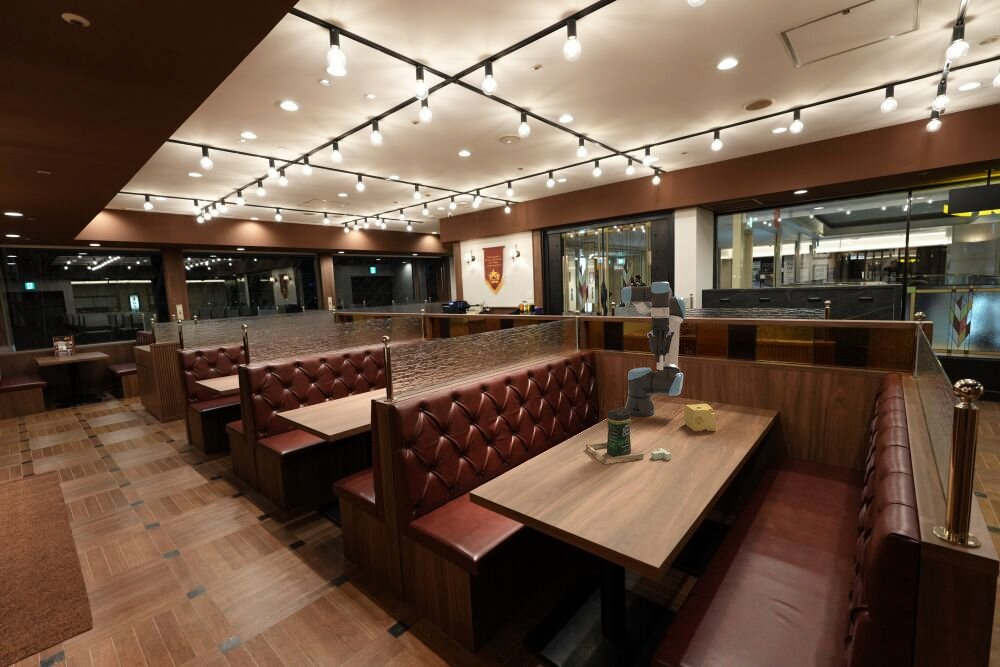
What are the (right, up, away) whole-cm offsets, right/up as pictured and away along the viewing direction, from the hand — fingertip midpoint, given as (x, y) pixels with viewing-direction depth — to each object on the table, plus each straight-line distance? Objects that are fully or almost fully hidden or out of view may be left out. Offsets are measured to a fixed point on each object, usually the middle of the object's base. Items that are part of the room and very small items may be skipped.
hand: (659, 369), depth 193 cm
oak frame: (-25, -33, -18) cm, 45 cm away
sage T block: (-9, -33, -23) cm, 41 cm away
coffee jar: (-23, -33, -17) cm, 44 cm away
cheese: (+22, -28, +8) cm, 36 cm away
